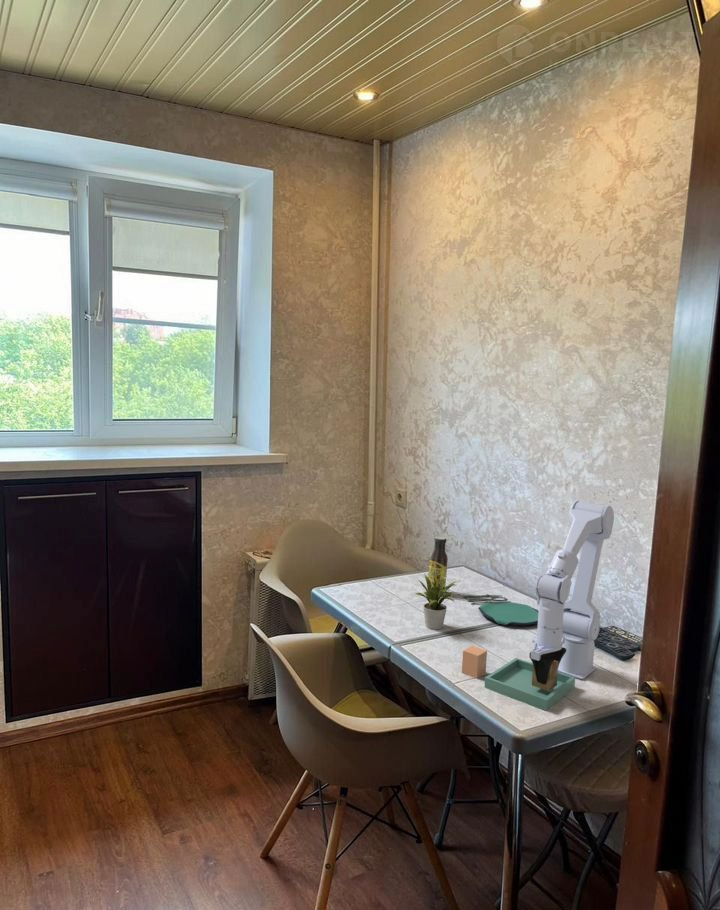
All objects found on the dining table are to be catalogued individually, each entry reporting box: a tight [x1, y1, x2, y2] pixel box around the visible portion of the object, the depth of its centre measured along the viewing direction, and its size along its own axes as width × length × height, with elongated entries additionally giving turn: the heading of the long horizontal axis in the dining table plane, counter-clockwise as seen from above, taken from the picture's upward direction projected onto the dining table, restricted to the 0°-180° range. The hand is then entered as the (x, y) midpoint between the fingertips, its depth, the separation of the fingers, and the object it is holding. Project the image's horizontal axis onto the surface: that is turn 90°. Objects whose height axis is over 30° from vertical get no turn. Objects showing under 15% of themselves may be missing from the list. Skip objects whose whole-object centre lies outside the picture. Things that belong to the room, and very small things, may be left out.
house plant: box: [415, 573, 460, 631], centre depth 196 cm, size 14×14×16 cm
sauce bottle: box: [427, 535, 449, 593], centre depth 228 cm, size 6×6×20 cm
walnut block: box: [532, 660, 558, 691], centre depth 158 cm, size 4×4×6 cm
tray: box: [484, 657, 576, 711], centre depth 161 cm, size 16×16×2 cm
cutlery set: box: [462, 593, 539, 626], centre depth 214 cm, size 20×30×2 cm, turn 15°
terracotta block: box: [461, 645, 488, 679], centre depth 168 cm, size 4×4×6 cm
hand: (546, 679), depth 158 cm, fingers closed on walnut block, 4 cm apart
